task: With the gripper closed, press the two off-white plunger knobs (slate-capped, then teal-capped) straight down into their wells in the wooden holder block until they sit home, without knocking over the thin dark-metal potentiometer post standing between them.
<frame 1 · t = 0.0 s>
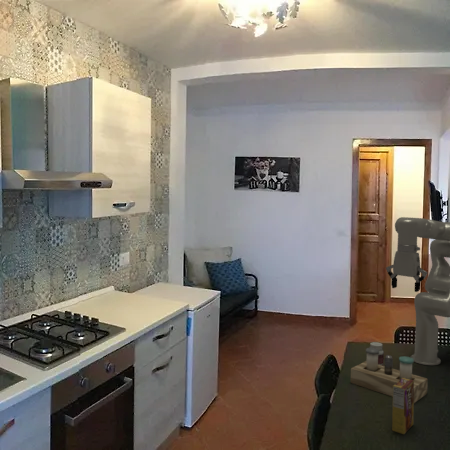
hand: (405, 289, 200), 37 cm above the table, tool pointing down, fingers open, 9 cm apart
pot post: (388, 373, 189), point 6 cm above the table, touching wooden holder block
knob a: (372, 359, 194), point 10 cm above the table, slide at 0.0 cm
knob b: (405, 368, 184), point 10 cm above the table, slide at 0.0 cm
candy box: (402, 428, 159), on the table
pill bottle: (375, 369, 210), on the table
wooden holder block: (387, 388, 190), on the table
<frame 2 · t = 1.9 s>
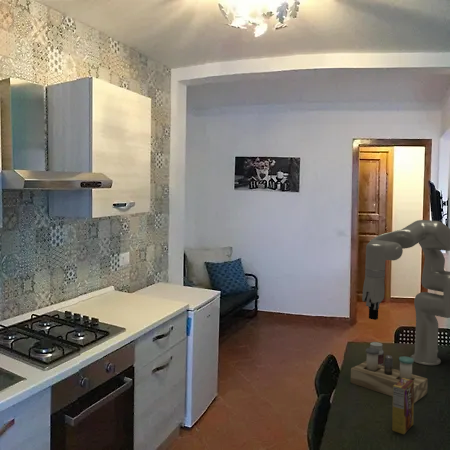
hand: (373, 318, 193), 27 cm above the table, tool pointing down, fingers closed
nothing on the table moved.
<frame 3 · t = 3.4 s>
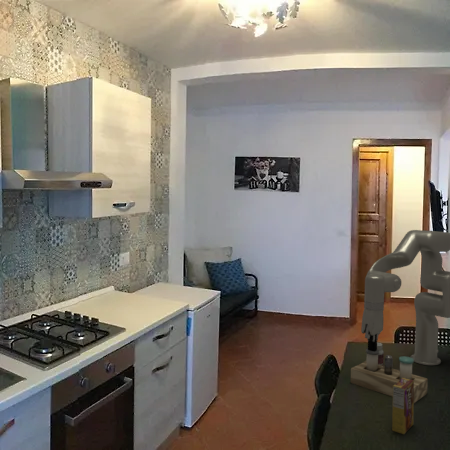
hand: (372, 350, 194), 14 cm above the table, tool pointing down, fingers closed
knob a: (372, 359, 194), point 10 cm above the table, slide at 0.2 cm, touching gripper
everything else where it was.
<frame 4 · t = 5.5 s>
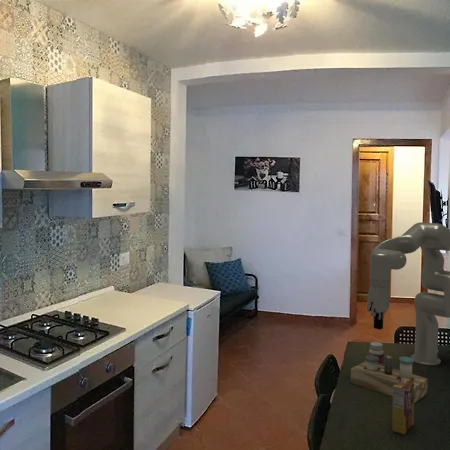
hand: (378, 328, 191), 23 cm above the table, tool pointing down, fingers closed
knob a: (372, 367, 194), point 7 cm above the table, slide at 3.2 cm
everything else where it was.
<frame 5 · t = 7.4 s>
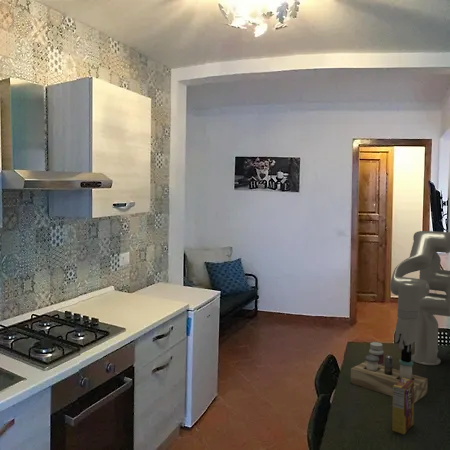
hand: (406, 361, 184), 13 cm above the table, tool pointing down, fingers closed
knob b: (405, 371, 184), point 9 cm above the table, slide at 0.9 cm, touching gripper
everything else where it was.
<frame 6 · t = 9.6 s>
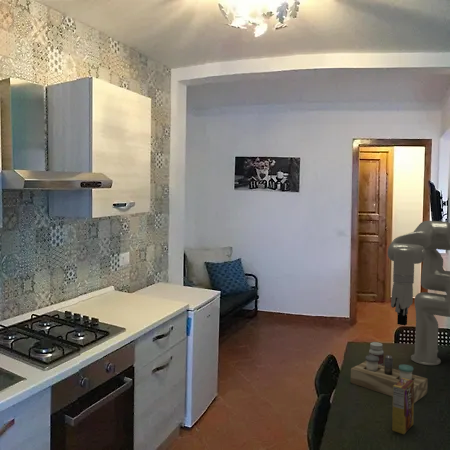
hand: (402, 324, 188), 26 cm above the table, tool pointing down, fingers closed
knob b: (405, 376, 184), point 7 cm above the table, slide at 3.2 cm
everything else where it was.
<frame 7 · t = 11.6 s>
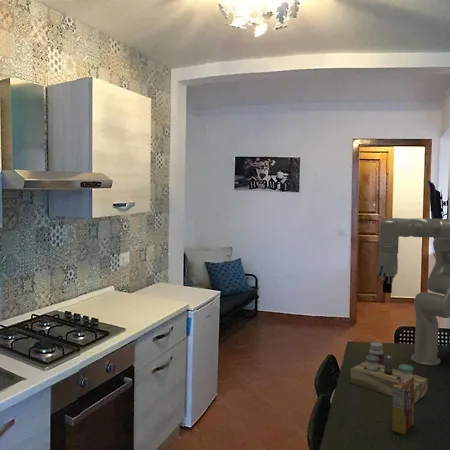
hand: (387, 292, 202), 35 cm above the table, tool pointing down, fingers closed
nothing on the table moved.
at the end: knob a slide at 3.2 cm; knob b slide at 3.2 cm; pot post tilted 0° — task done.
